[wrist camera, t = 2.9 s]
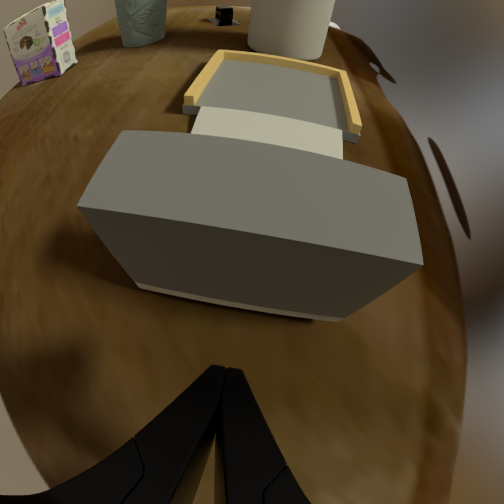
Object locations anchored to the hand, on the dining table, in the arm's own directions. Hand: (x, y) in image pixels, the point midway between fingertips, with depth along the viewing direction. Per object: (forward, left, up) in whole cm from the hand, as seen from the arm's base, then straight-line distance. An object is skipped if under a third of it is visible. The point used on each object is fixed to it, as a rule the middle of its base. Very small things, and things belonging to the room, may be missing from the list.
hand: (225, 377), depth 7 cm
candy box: (+40, +45, -9) cm, 61 cm away
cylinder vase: (+47, 0, -9) cm, 48 cm away
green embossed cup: (+50, +27, -9) cm, 58 cm away
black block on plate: (+65, +15, -9) cm, 67 cm away
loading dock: (+27, 0, -9) cm, 28 cm away
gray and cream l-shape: (+10, 0, -8) cm, 13 cm away
